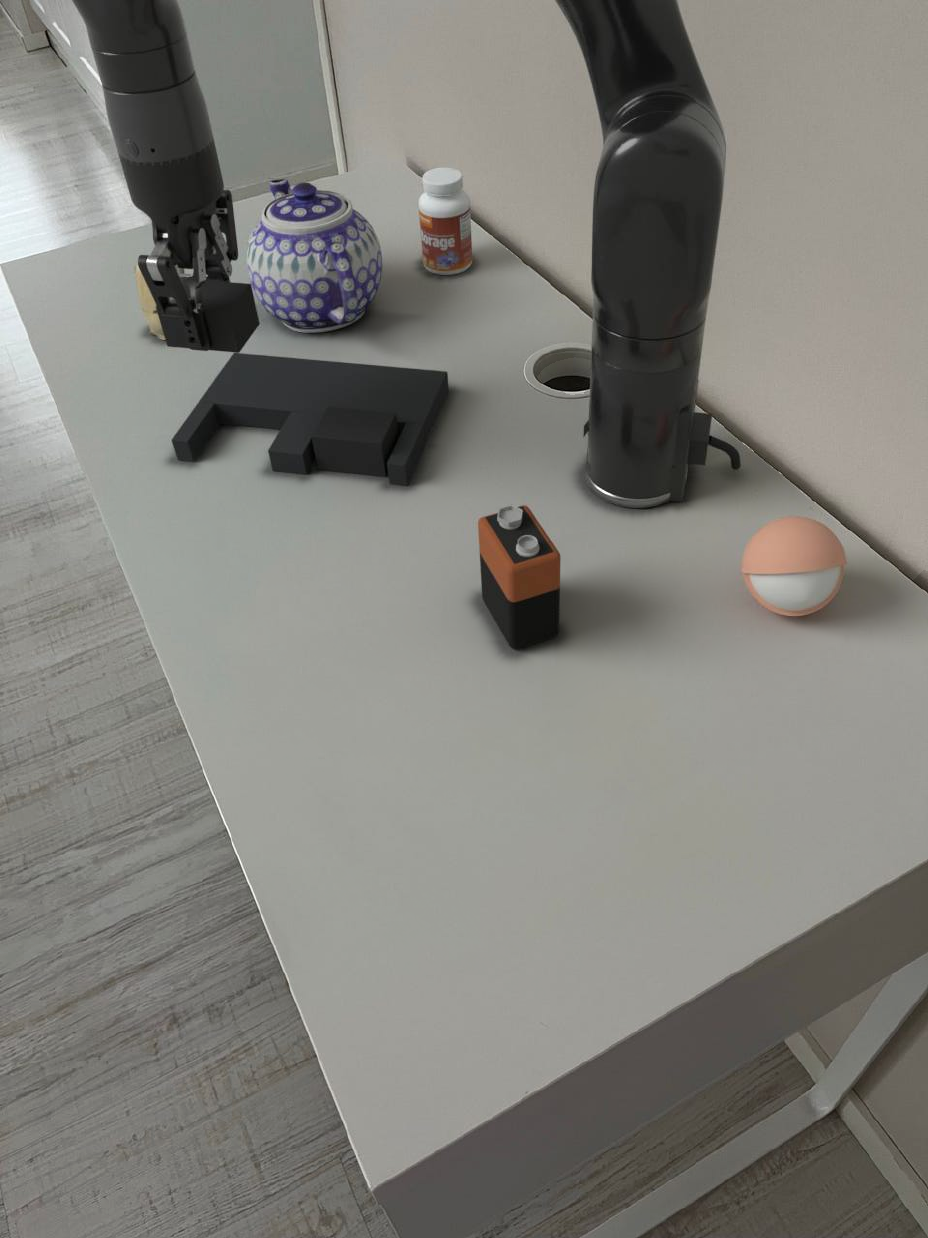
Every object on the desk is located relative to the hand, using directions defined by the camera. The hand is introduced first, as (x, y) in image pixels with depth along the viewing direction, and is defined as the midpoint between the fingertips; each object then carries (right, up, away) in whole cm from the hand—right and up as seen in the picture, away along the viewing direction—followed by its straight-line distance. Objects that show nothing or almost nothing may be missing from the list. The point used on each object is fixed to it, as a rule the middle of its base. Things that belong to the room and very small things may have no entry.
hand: (213, 330), depth 93 cm
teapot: (+6, +10, +29) cm, 31 cm away
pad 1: (0, 0, 0) cm, 0 cm away
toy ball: (+49, -25, -8) cm, 56 cm away
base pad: (+8, -6, +13) cm, 16 cm away
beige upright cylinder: (-11, +8, +27) cm, 30 cm away
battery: (+27, -26, -8) cm, 39 cm away
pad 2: (+12, -10, +8) cm, 18 cm away
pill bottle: (+21, +18, +35) cm, 44 cm away
